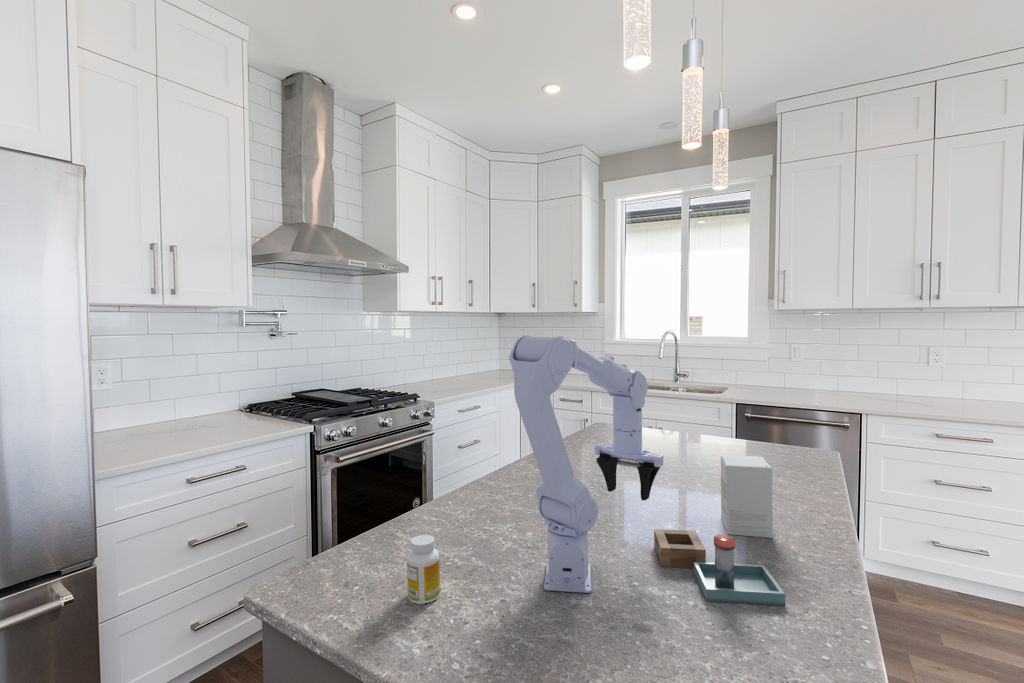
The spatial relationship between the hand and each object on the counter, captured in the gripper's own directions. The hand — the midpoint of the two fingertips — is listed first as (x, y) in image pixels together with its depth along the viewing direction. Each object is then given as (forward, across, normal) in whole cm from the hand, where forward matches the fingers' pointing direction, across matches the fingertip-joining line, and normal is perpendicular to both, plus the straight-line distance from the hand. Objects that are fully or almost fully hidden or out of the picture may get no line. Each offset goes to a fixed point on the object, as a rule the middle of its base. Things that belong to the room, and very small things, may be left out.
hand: (628, 494), depth 99 cm
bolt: (+11, +27, -51) cm, 58 cm away
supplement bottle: (+10, +16, +40) cm, 44 cm away
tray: (+10, -22, +3) cm, 25 cm away
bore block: (+10, -10, -1) cm, 14 cm away
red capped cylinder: (+10, -21, +4) cm, 23 cm away
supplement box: (+10, -16, -23) cm, 30 cm away
